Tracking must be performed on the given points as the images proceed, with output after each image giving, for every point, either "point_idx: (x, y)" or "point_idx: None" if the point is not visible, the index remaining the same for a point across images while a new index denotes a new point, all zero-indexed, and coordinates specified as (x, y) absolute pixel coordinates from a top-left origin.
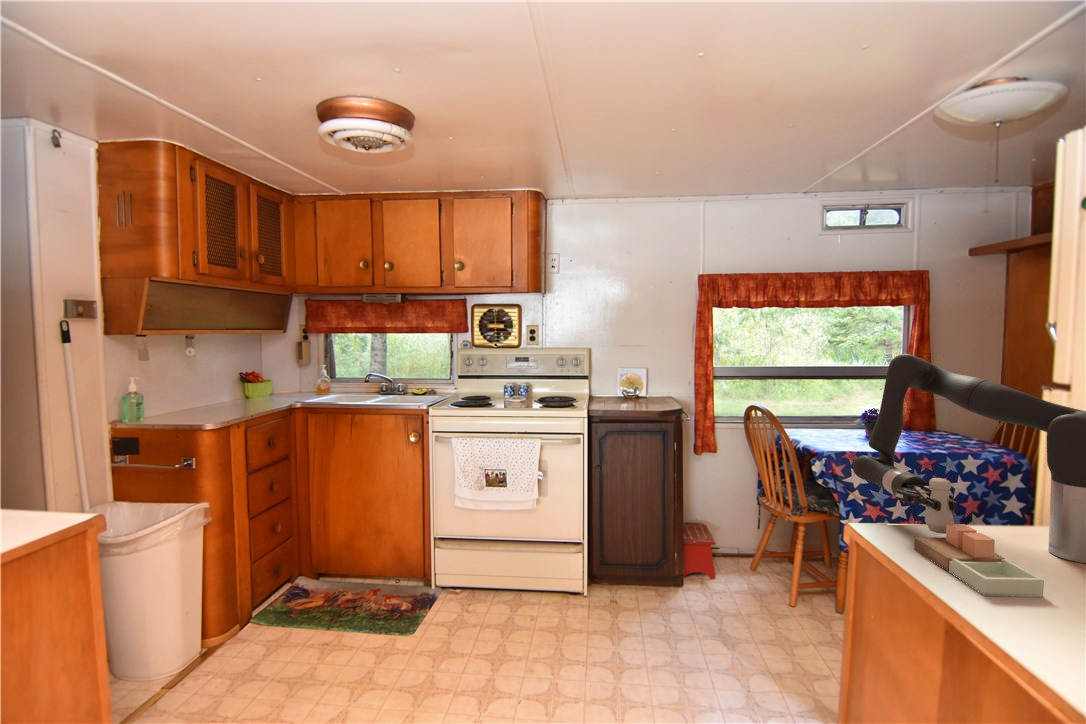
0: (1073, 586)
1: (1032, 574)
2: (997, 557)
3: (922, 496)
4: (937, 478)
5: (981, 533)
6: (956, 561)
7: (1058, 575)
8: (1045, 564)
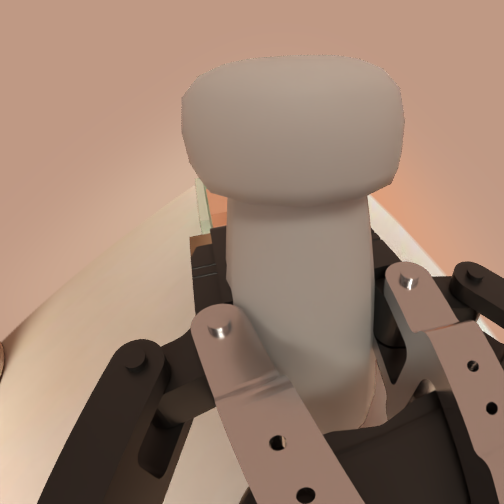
0: (114, 247)
1: (198, 186)
2: (205, 238)
3: (435, 296)
4: (313, 56)
5: (212, 212)
6: None
7: (94, 279)
8: (65, 325)
